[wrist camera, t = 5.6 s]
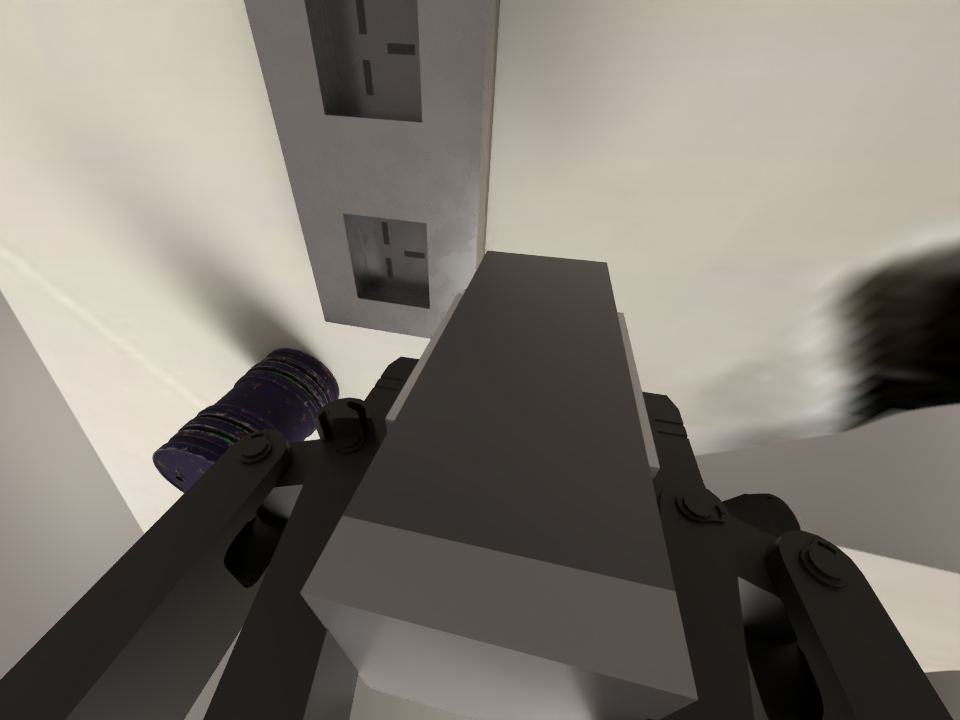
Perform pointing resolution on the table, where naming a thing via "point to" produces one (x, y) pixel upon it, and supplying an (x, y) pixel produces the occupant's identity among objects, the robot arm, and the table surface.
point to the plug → (513, 519)
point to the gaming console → (764, 513)
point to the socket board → (384, 147)
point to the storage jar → (250, 414)
